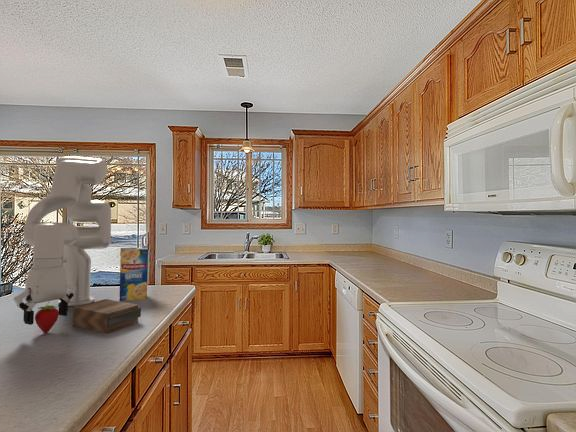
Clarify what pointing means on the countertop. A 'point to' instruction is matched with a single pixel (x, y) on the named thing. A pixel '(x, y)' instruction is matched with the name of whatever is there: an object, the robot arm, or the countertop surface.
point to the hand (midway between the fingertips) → (46, 319)
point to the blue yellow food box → (133, 273)
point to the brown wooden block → (105, 315)
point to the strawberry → (46, 317)
